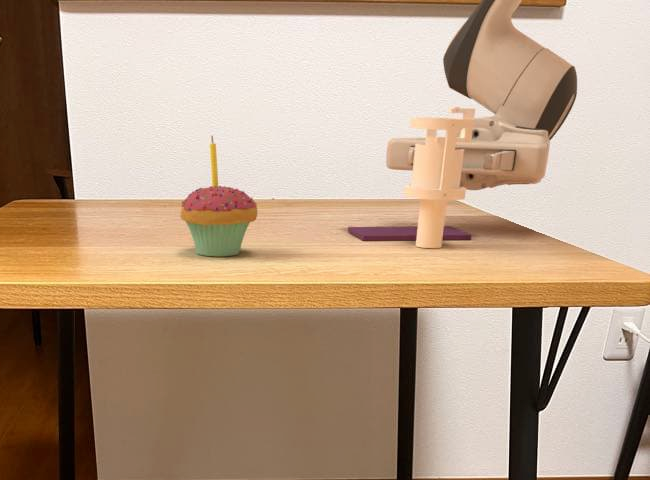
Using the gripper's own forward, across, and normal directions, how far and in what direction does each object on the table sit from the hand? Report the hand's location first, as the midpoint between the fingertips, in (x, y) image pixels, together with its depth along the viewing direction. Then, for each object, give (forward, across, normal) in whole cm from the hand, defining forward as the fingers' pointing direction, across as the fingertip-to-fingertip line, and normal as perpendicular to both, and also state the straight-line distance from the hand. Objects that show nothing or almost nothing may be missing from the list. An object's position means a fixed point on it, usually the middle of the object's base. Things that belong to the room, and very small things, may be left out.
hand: (451, 160), depth 106 cm
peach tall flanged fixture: (+6, 0, +9) cm, 11 cm away
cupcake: (+24, -19, +9) cm, 32 cm away
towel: (-1, -5, +9) cm, 10 cm away
